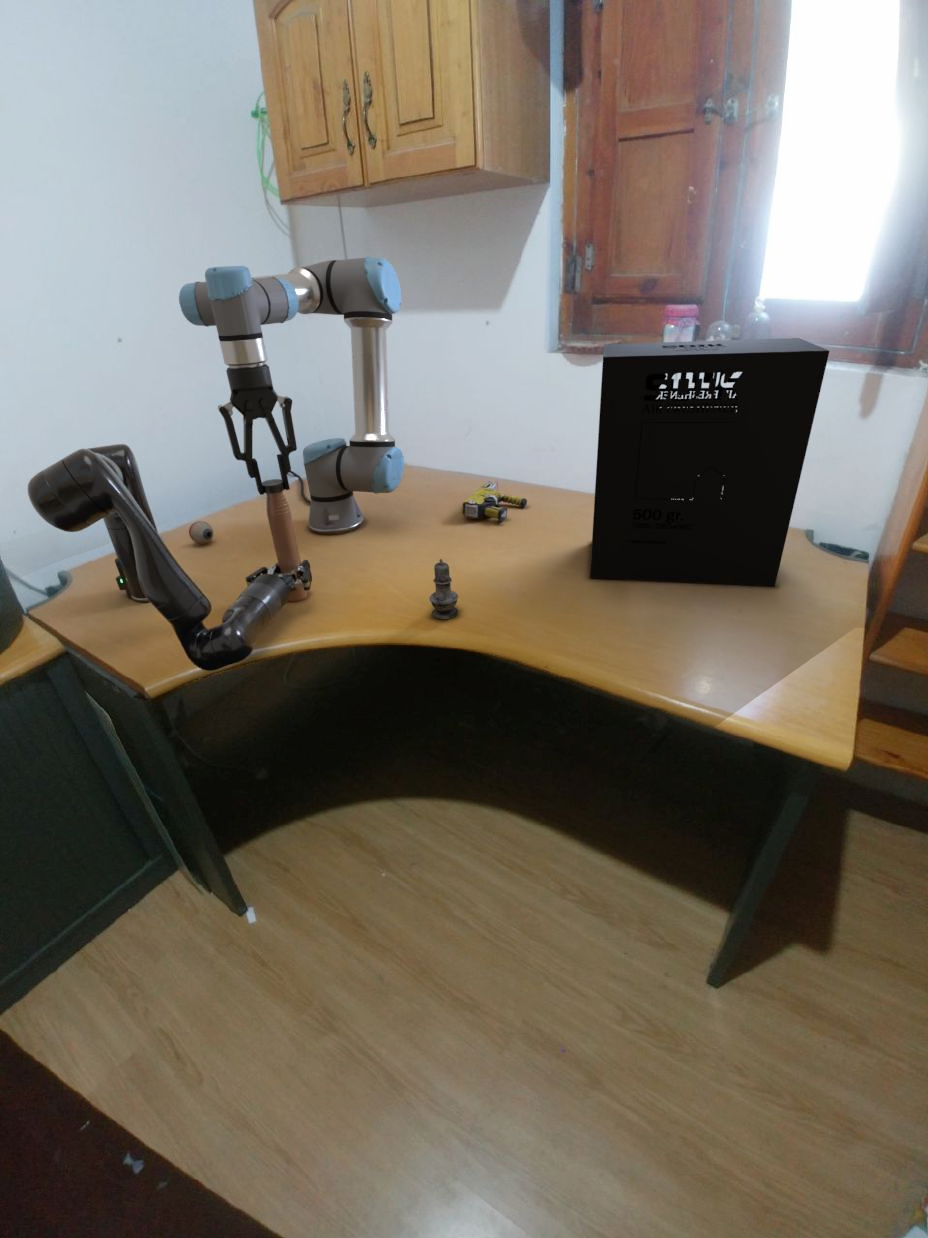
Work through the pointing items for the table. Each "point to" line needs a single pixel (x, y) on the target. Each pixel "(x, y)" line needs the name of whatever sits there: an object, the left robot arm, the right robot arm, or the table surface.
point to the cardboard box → (701, 458)
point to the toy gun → (489, 503)
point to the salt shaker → (443, 593)
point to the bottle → (284, 538)
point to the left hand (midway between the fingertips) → (295, 563)
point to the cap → (273, 486)
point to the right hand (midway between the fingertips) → (273, 490)
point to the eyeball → (201, 532)
